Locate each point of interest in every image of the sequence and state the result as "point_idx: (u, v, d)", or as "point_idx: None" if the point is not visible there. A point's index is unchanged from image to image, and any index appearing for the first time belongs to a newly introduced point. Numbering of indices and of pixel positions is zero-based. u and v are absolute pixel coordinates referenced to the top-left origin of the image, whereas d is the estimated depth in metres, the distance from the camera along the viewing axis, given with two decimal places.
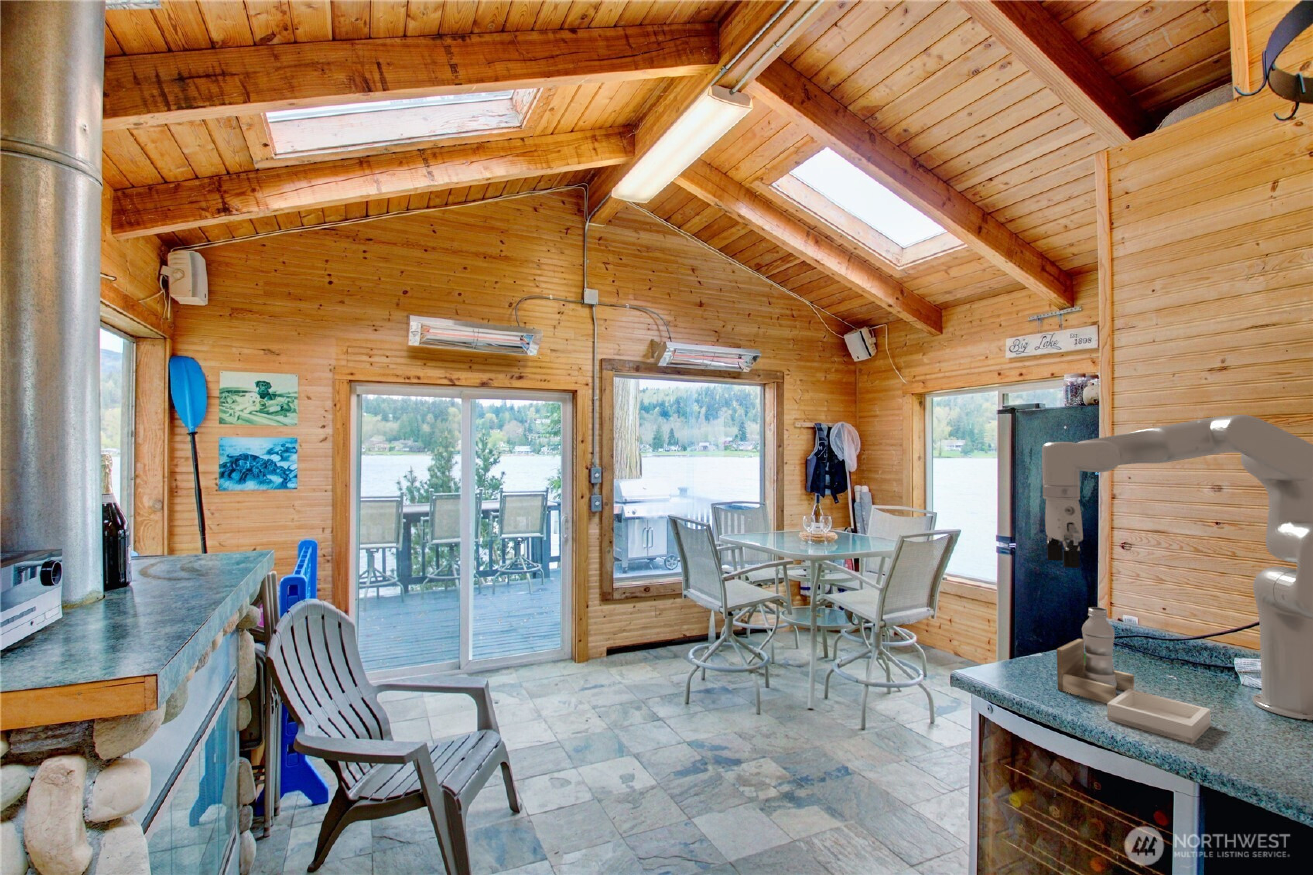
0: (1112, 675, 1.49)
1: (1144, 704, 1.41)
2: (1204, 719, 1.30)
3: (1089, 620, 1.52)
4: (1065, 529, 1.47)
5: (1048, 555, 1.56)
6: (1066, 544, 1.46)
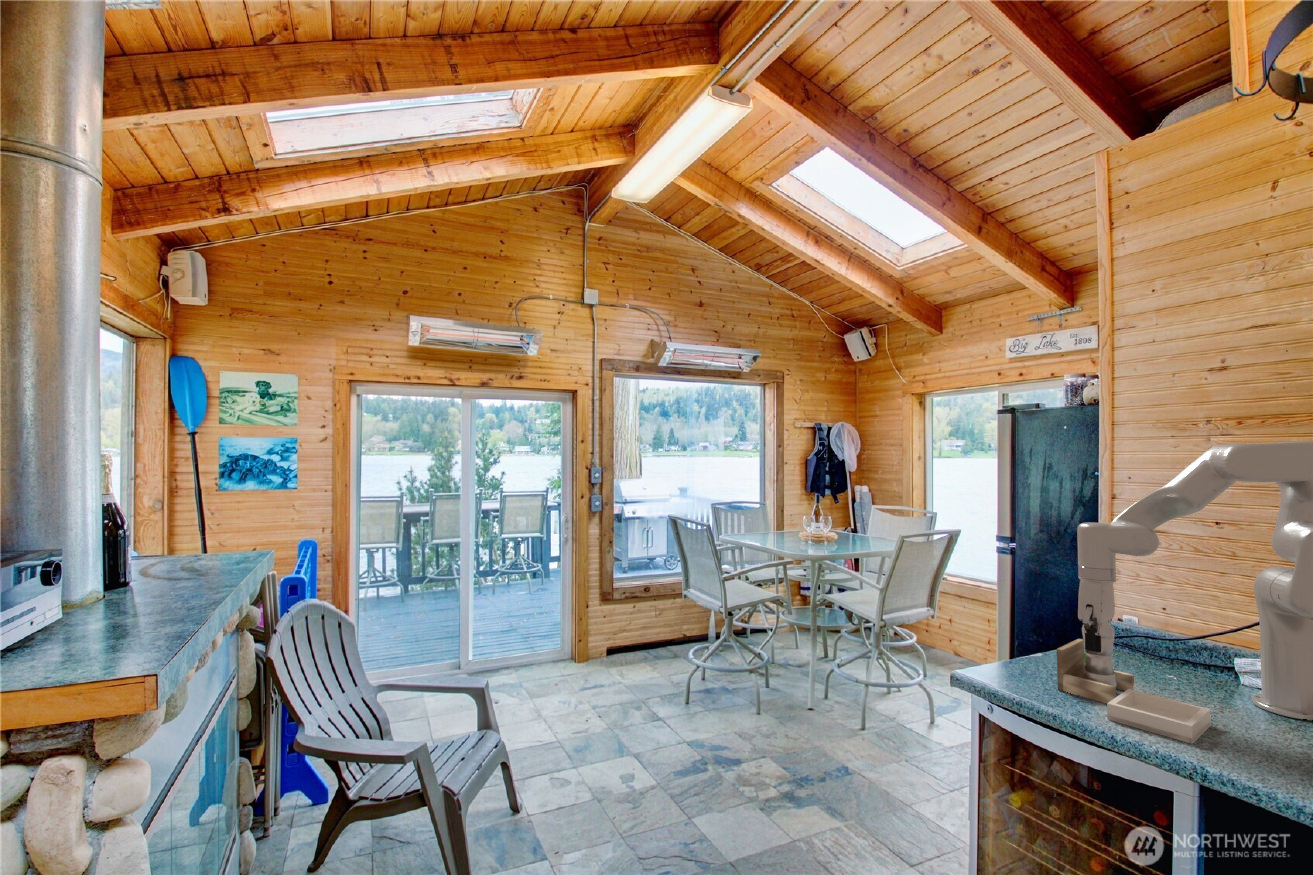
0: (1112, 675, 1.49)
1: (1144, 704, 1.41)
2: (1204, 719, 1.30)
3: None
4: None
5: (1100, 647, 1.49)
6: None
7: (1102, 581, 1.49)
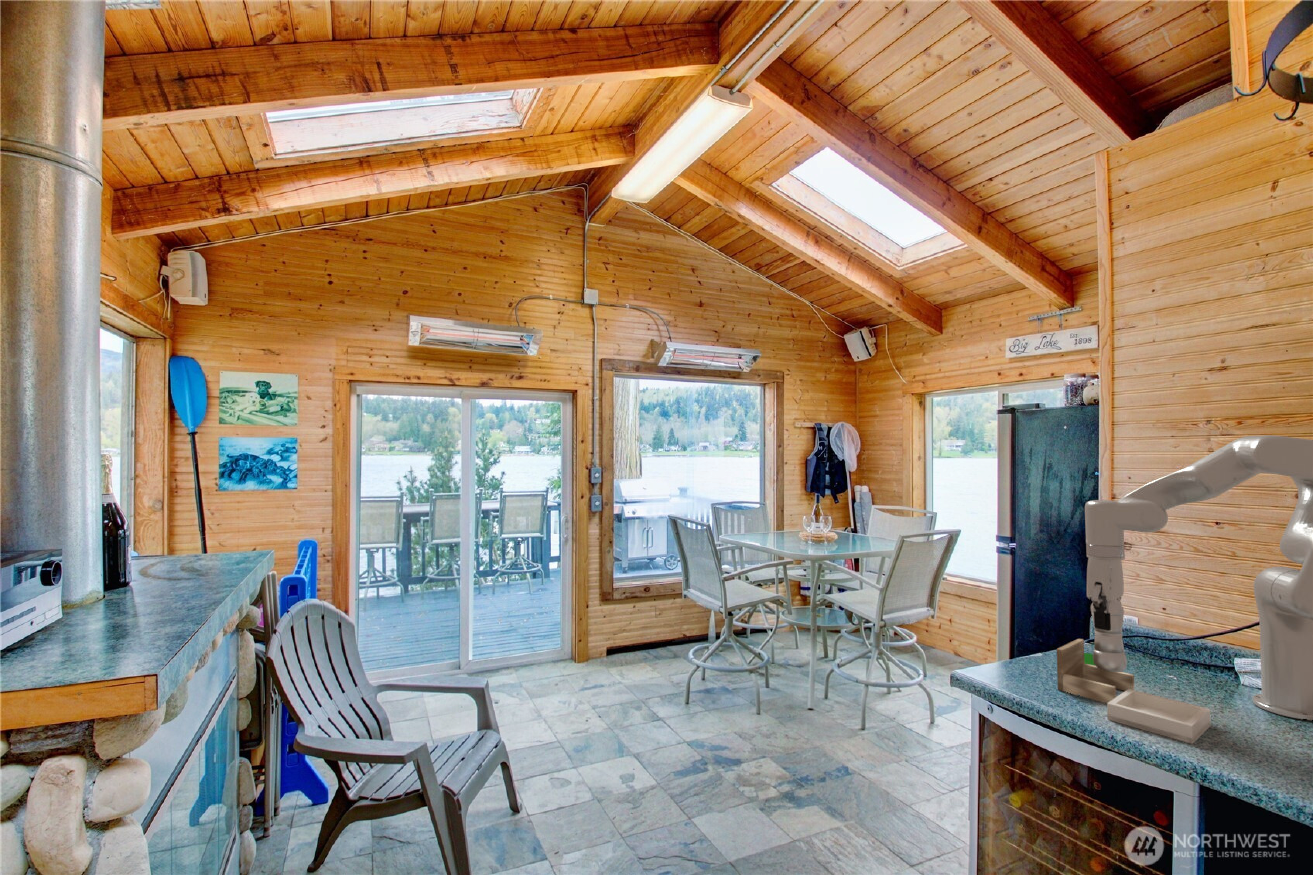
0: (1122, 653, 1.48)
1: (1144, 704, 1.41)
2: (1204, 719, 1.30)
3: None
4: None
5: (1110, 625, 1.47)
6: None
7: (1111, 558, 1.47)
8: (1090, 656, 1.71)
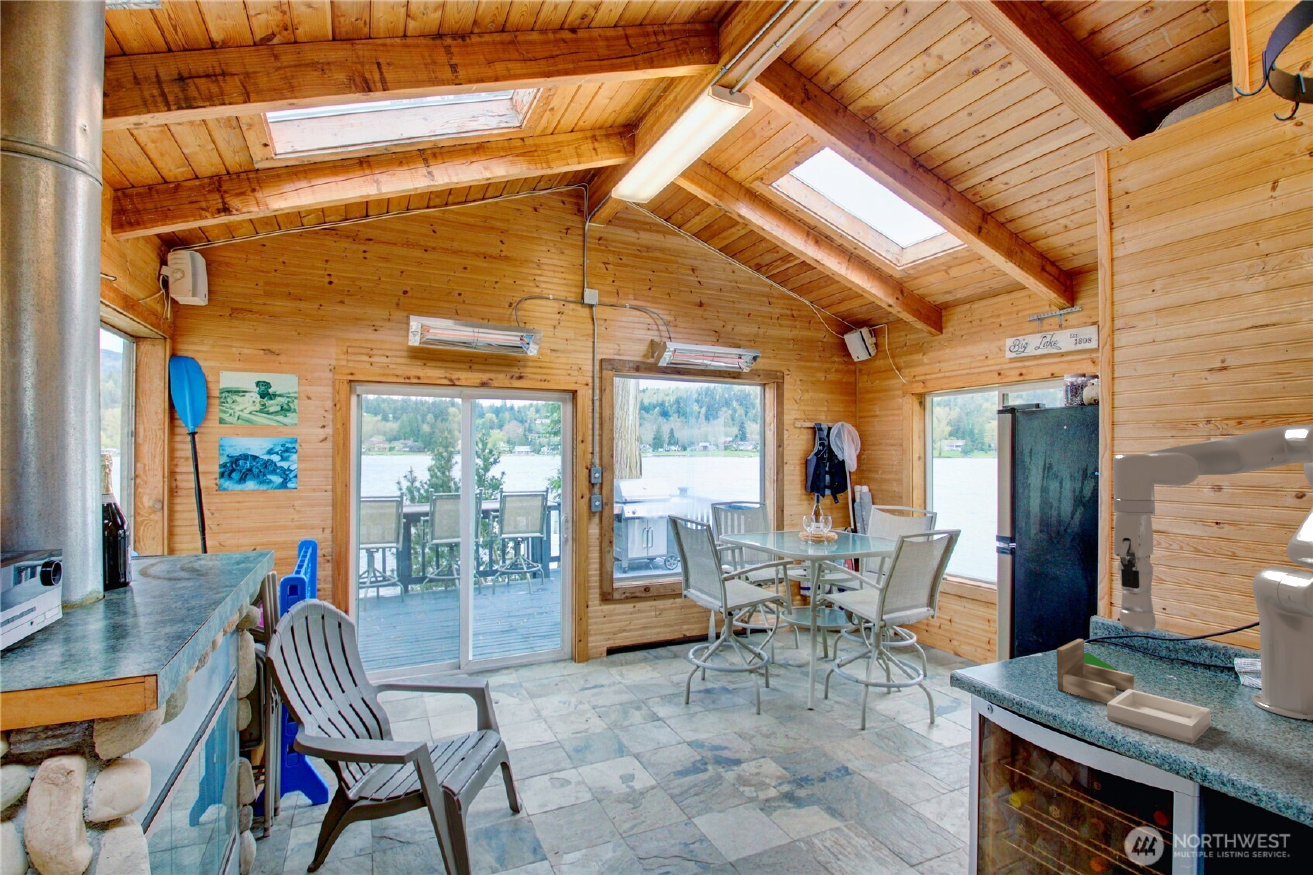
0: (1151, 612, 1.41)
1: (1144, 704, 1.41)
2: (1204, 719, 1.30)
3: None
4: None
5: (1138, 583, 1.41)
6: None
7: (1140, 513, 1.41)
8: (1089, 656, 1.71)
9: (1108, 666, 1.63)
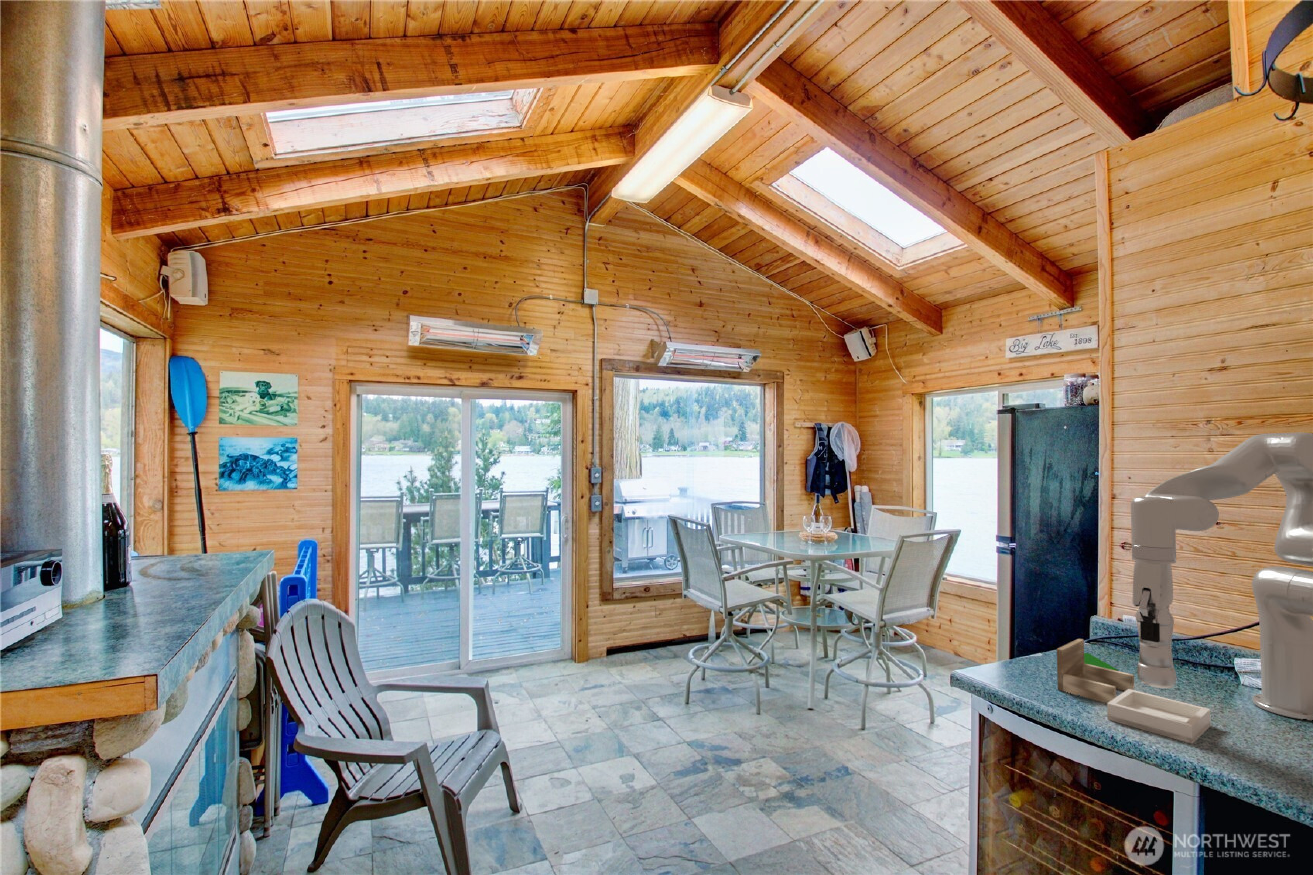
0: (1171, 668, 1.32)
1: (1144, 704, 1.41)
2: (1204, 719, 1.30)
3: None
4: None
5: None
6: None
7: (1161, 562, 1.32)
8: (1089, 656, 1.71)
9: (1108, 666, 1.63)
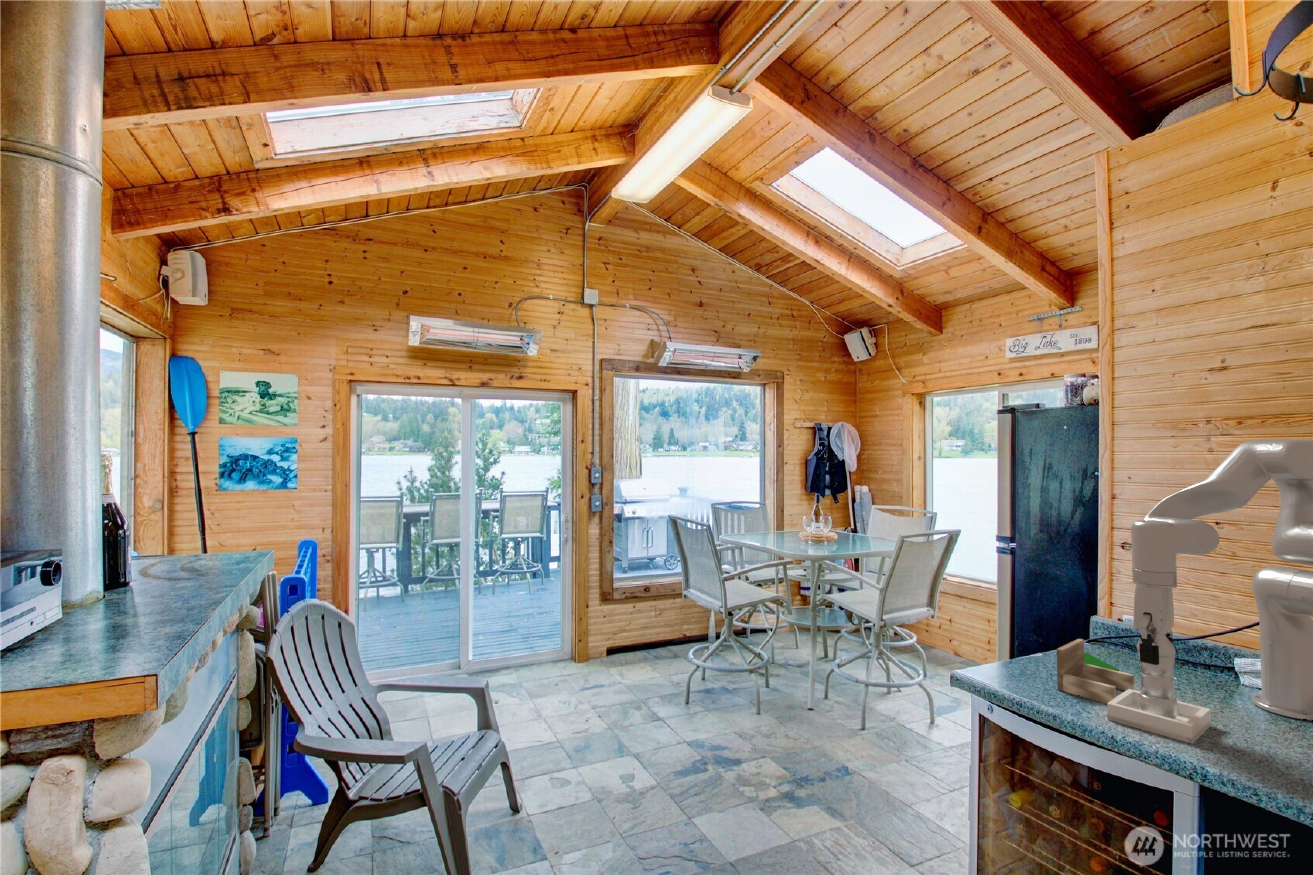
0: (1173, 699, 1.32)
1: None
2: (1204, 719, 1.30)
3: None
4: None
5: None
6: None
7: (1162, 586, 1.31)
8: (1088, 656, 1.72)
9: (1109, 666, 1.63)
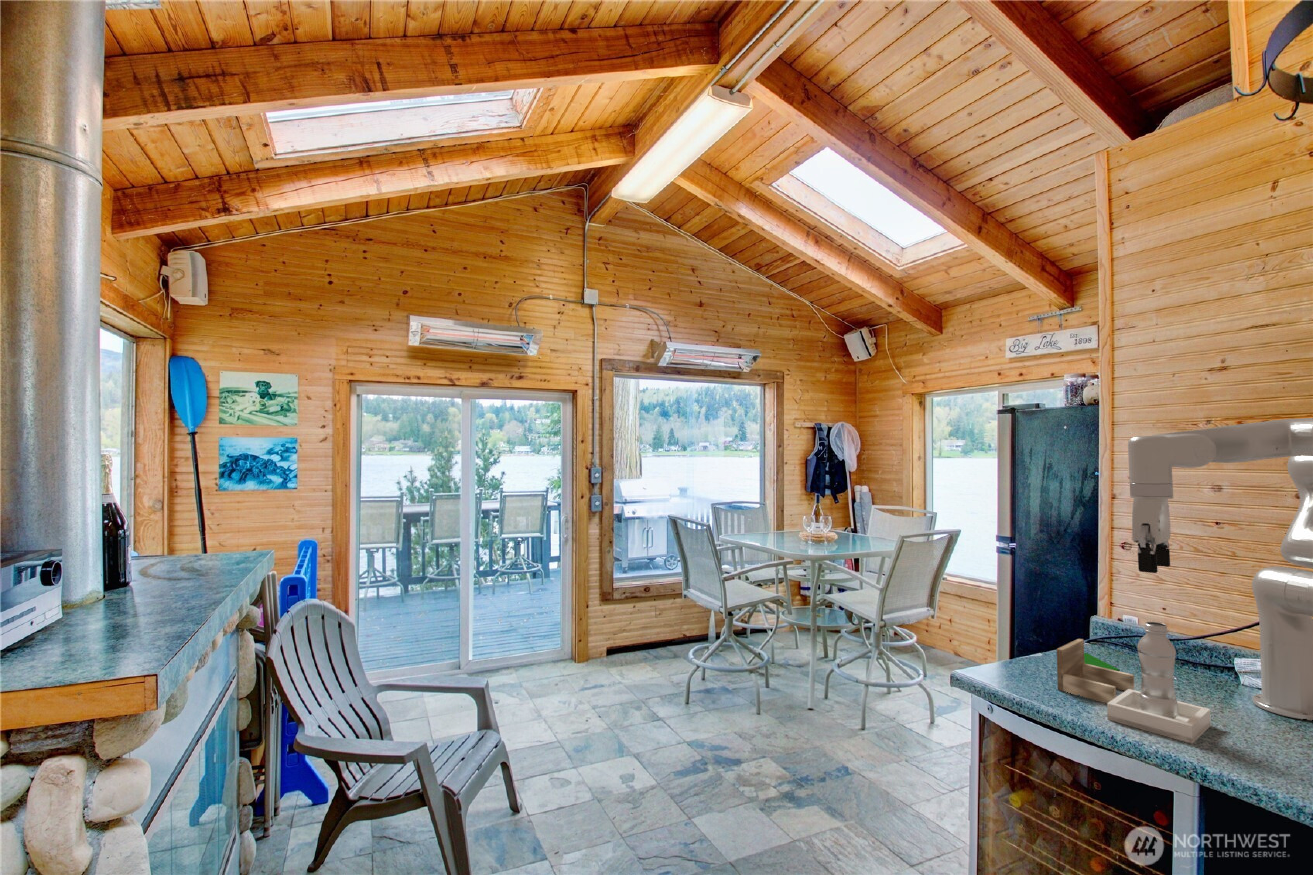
0: (1173, 699, 1.32)
1: None
2: (1204, 719, 1.30)
3: (1146, 637, 1.35)
4: None
5: None
6: None
7: (1159, 497, 1.35)
8: (1088, 656, 1.72)
9: (1109, 666, 1.64)
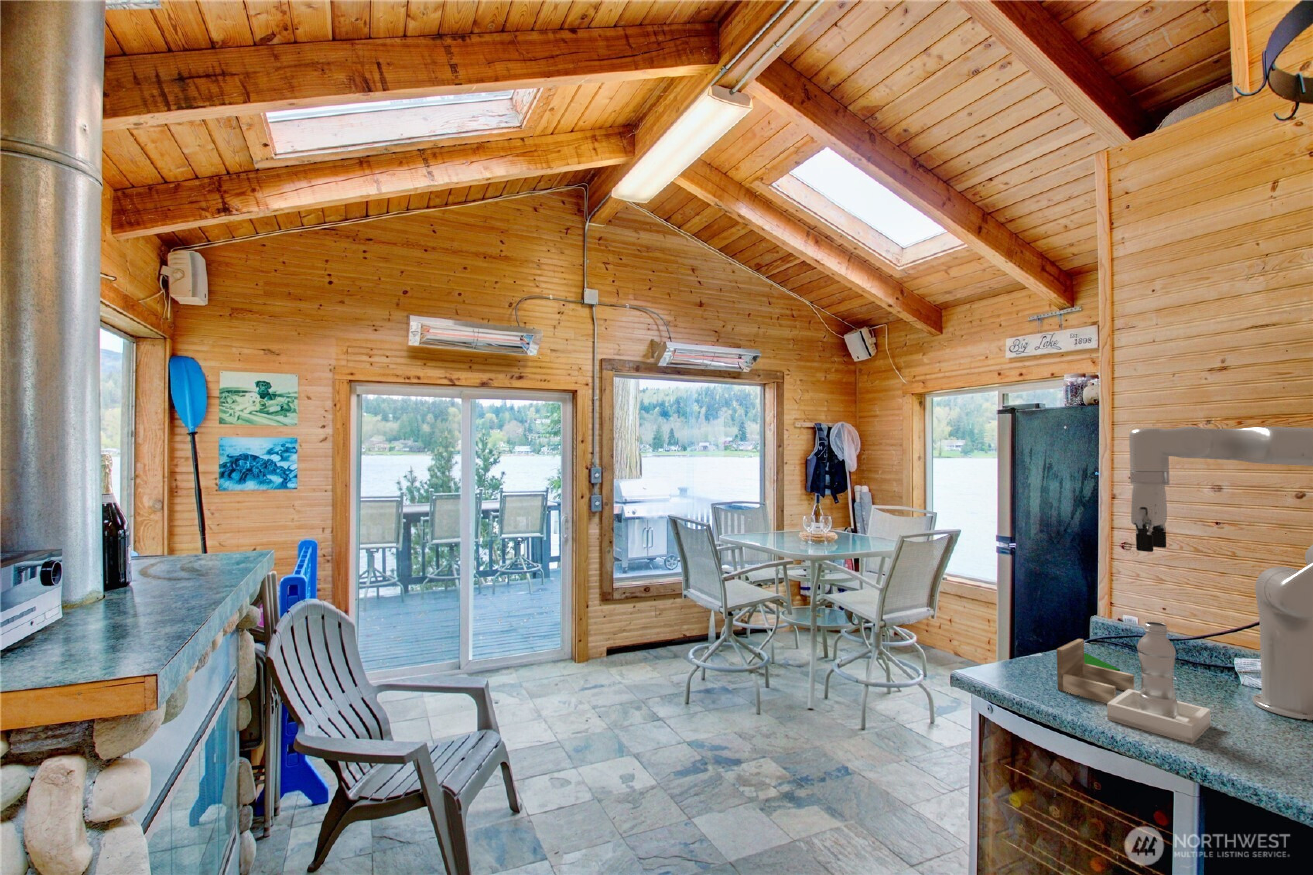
0: (1173, 699, 1.32)
1: None
2: (1204, 719, 1.30)
3: (1146, 637, 1.35)
4: None
5: None
6: None
7: (1156, 484, 1.49)
8: (1087, 656, 1.72)
9: (1110, 666, 1.64)
